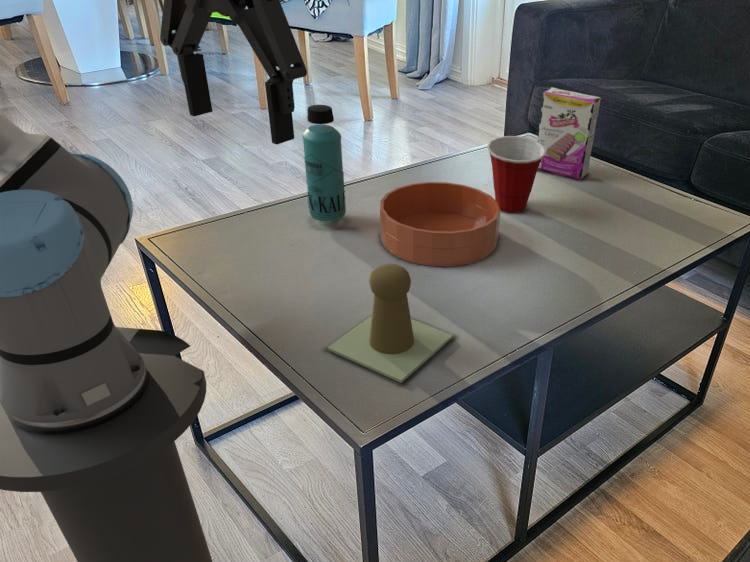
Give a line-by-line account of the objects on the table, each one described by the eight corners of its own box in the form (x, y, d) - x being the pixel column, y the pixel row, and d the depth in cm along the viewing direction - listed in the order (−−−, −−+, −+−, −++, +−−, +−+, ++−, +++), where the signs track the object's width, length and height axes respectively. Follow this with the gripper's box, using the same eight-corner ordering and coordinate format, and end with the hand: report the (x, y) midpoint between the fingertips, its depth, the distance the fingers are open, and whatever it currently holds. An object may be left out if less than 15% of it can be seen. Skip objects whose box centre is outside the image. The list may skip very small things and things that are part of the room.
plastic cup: (481, 217, 121) (486, 154, 113) (483, 193, 129) (488, 133, 122) (539, 221, 121) (547, 159, 114) (538, 198, 129) (545, 138, 122)
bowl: (357, 242, 110) (355, 209, 106) (424, 203, 124) (424, 173, 120) (457, 279, 102) (459, 245, 99) (517, 232, 117) (520, 201, 113)
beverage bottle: (316, 211, 118) (306, 98, 106) (352, 216, 118) (345, 102, 105) (304, 227, 113) (291, 110, 101) (341, 232, 113) (332, 114, 100)
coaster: (327, 350, 86) (327, 347, 85) (383, 309, 94) (383, 307, 94) (401, 383, 81) (401, 380, 81) (452, 337, 90) (452, 335, 89)
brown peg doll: (413, 327, 90) (412, 257, 84) (415, 353, 86) (415, 281, 79) (369, 328, 89) (365, 258, 83) (369, 355, 85) (365, 282, 78)
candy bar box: (532, 170, 141) (541, 91, 131) (540, 163, 145) (550, 86, 135) (581, 181, 138) (594, 101, 128) (588, 174, 141) (601, 96, 131)
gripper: (332, -79, 61) (343, 144, 74) (158, -106, 70) (195, 96, 83) (272, -78, 56) (296, 162, 69) (93, -107, 65) (143, 109, 78)
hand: (241, 127), depth 76 cm, fingers open, 13 cm apart
